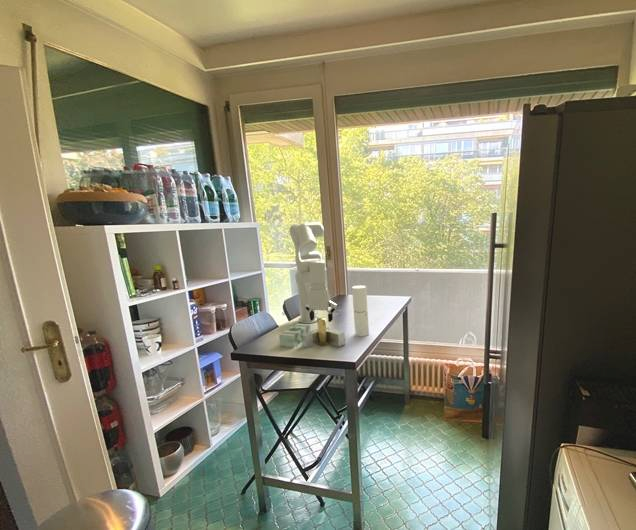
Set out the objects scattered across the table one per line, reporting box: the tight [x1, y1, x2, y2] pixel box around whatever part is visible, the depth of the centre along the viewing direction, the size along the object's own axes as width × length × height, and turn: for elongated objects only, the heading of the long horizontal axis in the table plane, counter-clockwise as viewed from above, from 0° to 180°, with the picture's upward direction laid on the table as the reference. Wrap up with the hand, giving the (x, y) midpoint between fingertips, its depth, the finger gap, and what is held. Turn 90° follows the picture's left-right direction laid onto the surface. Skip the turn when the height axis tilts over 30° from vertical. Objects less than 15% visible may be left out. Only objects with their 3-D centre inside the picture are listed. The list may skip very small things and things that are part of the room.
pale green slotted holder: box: [278, 323, 312, 348], centre depth 171 cm, size 18×8×6 cm, turn 154°
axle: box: [316, 317, 329, 347], centre depth 162 cm, size 4×4×13 cm
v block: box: [301, 327, 346, 349], centre depth 164 cm, size 11×21×6 cm, turn 84°
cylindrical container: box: [351, 285, 370, 337], centre depth 172 cm, size 7×7×25 cm
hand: (321, 320), depth 162 cm, fingers open, 9 cm apart
